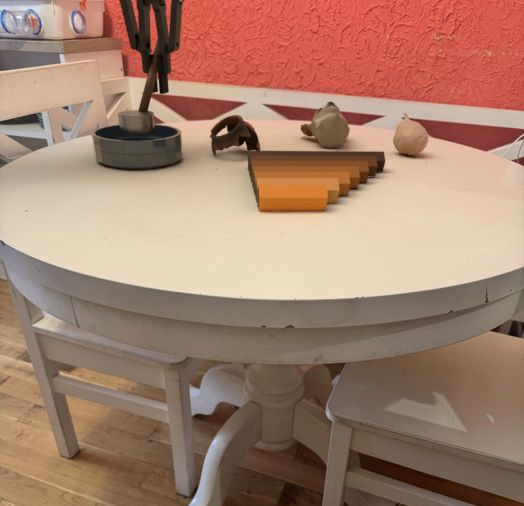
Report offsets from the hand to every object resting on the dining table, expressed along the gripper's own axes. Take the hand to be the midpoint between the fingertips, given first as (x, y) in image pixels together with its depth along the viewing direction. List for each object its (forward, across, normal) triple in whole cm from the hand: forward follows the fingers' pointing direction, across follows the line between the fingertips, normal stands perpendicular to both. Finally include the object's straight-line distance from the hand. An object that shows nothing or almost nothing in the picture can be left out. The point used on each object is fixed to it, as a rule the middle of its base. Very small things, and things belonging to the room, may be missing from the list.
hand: (158, 92), depth 99 cm
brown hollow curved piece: (+11, -16, 0) cm, 19 cm away
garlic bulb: (+11, -50, -12) cm, 52 cm away
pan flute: (+11, -37, +17) cm, 42 cm away
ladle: (+5, 0, +5) cm, 7 cm away
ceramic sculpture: (+11, -32, -17) cm, 38 cm away
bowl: (+10, 0, +11) cm, 15 cm away
